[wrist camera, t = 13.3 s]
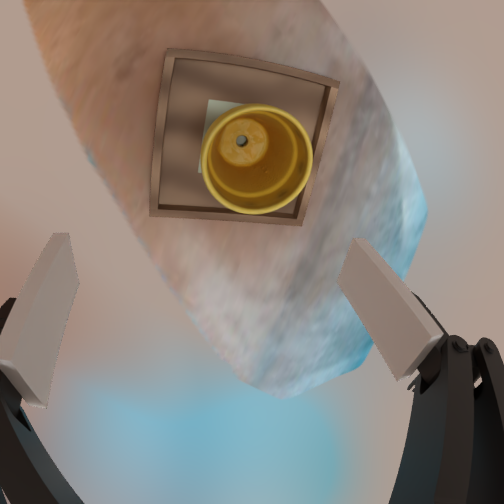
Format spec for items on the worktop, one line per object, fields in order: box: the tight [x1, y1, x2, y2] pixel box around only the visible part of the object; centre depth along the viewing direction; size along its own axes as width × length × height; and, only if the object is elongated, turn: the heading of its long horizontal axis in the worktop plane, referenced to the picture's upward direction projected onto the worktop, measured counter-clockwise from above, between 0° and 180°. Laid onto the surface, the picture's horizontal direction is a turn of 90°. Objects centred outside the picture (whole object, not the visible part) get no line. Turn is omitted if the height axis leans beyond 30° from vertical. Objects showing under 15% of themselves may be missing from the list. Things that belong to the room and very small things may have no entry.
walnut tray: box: [149, 48, 340, 226], centre depth 33 cm, size 20×20×2 cm
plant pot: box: [200, 104, 313, 214], centre depth 29 cm, size 10×10×10 cm
